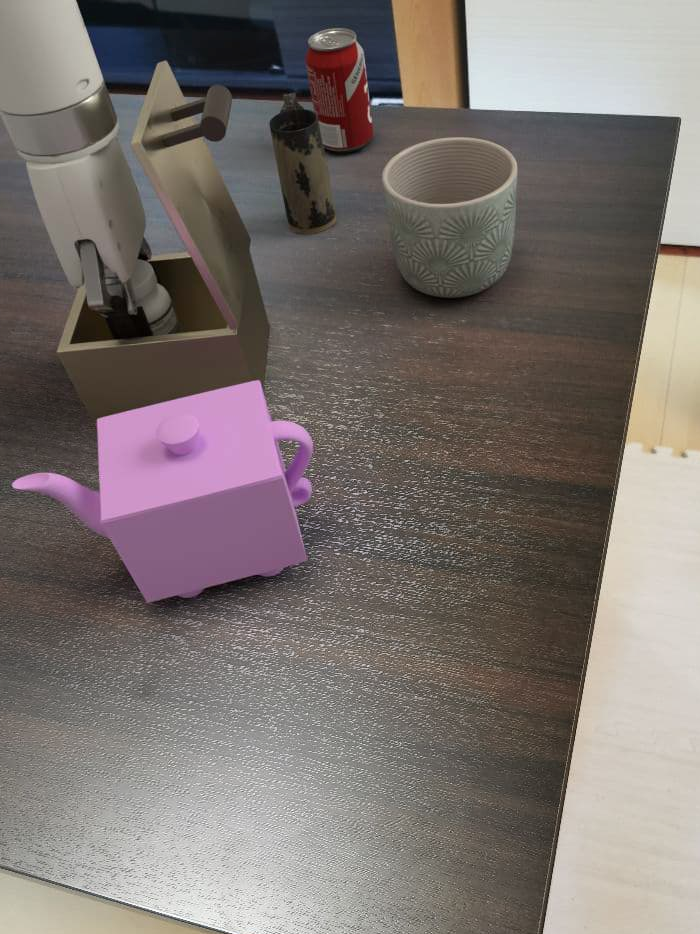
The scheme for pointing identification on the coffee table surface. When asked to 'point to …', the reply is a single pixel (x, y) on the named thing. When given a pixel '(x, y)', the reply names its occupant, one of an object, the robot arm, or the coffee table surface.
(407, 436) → the coffee table surface
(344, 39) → the soda can
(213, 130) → the lid
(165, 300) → the pill bottle
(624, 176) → the coffee table surface
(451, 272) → the planter
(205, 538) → the teapot
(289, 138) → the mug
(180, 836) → the coffee table surface
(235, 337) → the tan open box
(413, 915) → the coffee table surface
